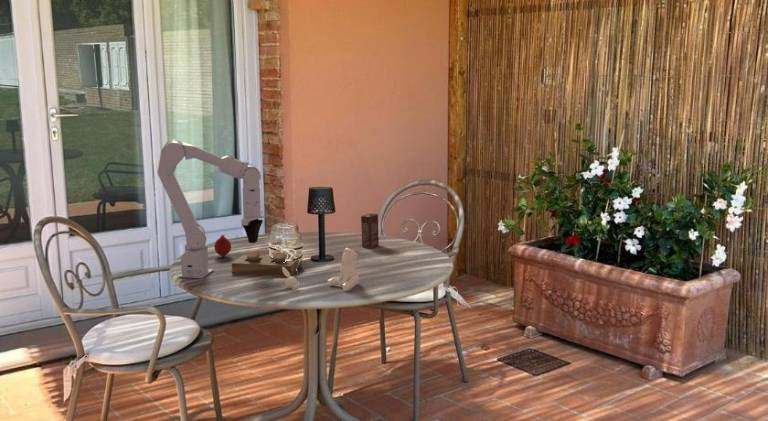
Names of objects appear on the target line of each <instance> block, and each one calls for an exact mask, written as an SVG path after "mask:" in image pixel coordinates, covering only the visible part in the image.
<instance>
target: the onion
mask: <svg viewBox="0 0 768 421" xmlns="http://www.w3.org/2000/svg"><path fill="white" fill-rule="evenodd" d="M214 250H215V252H216V254H217V255H219V256H220V257H221V258H222V257H226V255H228V254H230V252H231V250H232V244H231V242H230V240H229V239H228V238H227V237H225V235H224V234H221V236H220V237H219V238H218V239H216V241H215V242H214Z"/></svg>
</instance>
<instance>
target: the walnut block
mask: <svg viewBox="0 0 768 421" xmlns="http://www.w3.org/2000/svg"><path fill="white" fill-rule="evenodd" d="M270 256H271V255H260V260H259V261H255V262H252V261H248V260H247V254H242V255H241V256H240V257H238V258H237V259H235V260H234V261H232V262H231V273H232V274H238V275H257V276H272V277H273V276H277V277H278V276H279V277H286V276H285V275H284V273H283V271H282V267H284V268H285V269H286V270H287V271H288V272H289V273H290V277H293V275H294V274H295V273H296V272H297V271H296V269H297V268H298V260H295V261H286V262H285V263H274V262H273V259H271V258H270Z"/></svg>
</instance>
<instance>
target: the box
mask: <svg viewBox="0 0 768 421" xmlns="http://www.w3.org/2000/svg"><path fill="white" fill-rule="evenodd" d="M360 218H361V221H360V222H361V247H362V248H364V249H365V248H366V249H372V248H374V247H377V246H379V245H380V244H379V243H380V242H379V238H380V237H379V214H378V213H366V214H364V215H361V216H360Z"/></svg>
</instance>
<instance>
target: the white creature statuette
mask: <svg viewBox="0 0 768 421" xmlns="http://www.w3.org/2000/svg"><path fill="white" fill-rule="evenodd" d="M358 256H359V254H358V253H356V250H354V249H352V248H350V247H345V249H344V250H343V252H342V254H341V263H340V266H339V268H338V269H339V275H338V276H333V277H330V278H329V279H327V285H328V286H329V287H338V288H341V289H342V290H343V291H344V292H349V291H351V290H352V289H354V288H355V287H356V286H357V285H358V283H359V280H360V277H359V275H358V272H357V271H356V266H355V264H354V263H353V262H354V261H355V260H356V259H357V258H358Z"/></svg>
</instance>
